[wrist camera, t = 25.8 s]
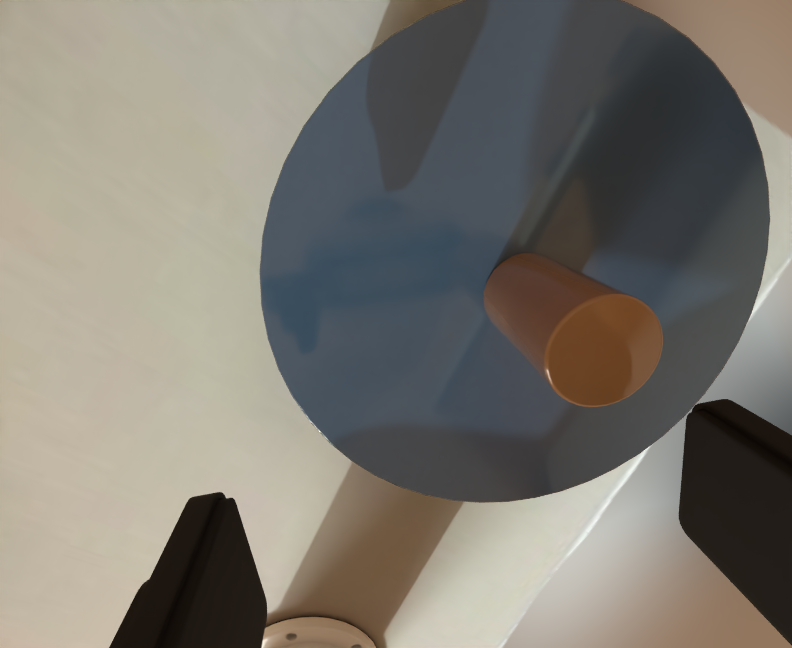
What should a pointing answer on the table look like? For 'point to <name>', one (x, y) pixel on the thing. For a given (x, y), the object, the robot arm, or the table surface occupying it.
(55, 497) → the table surface
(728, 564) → the robot arm
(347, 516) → the table surface
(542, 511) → the table surface
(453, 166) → the lid
